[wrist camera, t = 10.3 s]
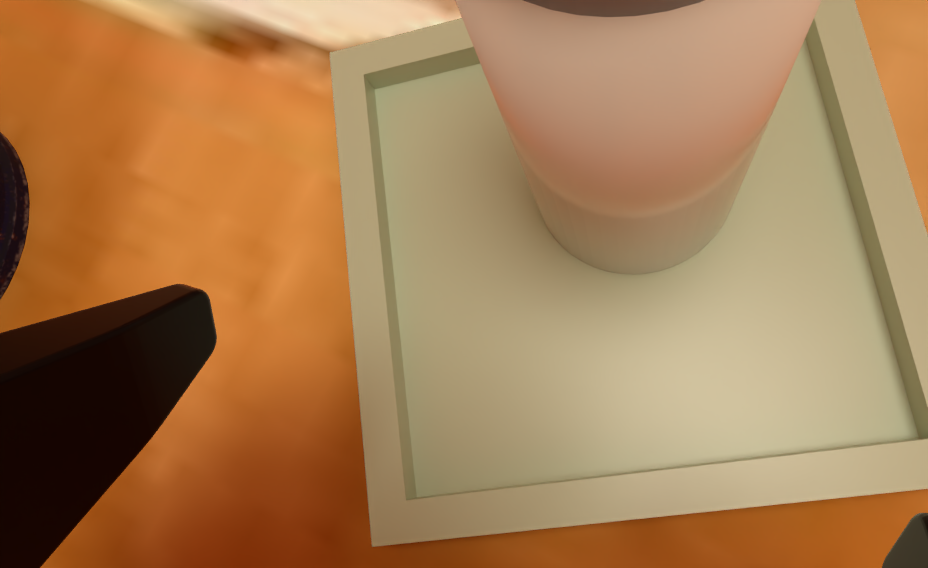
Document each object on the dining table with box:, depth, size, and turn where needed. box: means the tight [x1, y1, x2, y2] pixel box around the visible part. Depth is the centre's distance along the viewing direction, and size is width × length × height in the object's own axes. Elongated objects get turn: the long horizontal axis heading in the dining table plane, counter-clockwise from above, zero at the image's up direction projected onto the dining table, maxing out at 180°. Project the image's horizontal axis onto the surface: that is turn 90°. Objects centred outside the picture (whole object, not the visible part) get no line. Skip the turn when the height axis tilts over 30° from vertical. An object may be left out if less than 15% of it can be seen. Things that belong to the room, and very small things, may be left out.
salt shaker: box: [455, 0, 822, 274], centre depth 12 cm, size 5×5×13 cm
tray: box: [330, 0, 928, 547], centre depth 18 cm, size 14×14×2 cm
